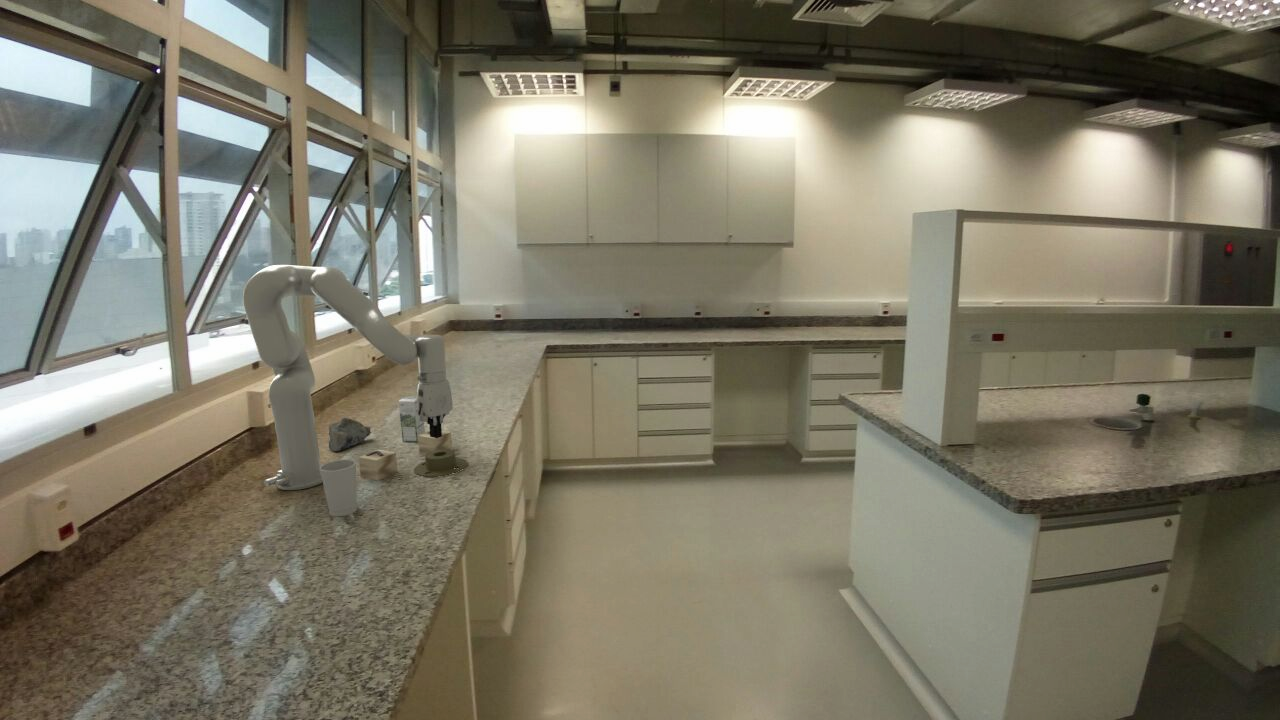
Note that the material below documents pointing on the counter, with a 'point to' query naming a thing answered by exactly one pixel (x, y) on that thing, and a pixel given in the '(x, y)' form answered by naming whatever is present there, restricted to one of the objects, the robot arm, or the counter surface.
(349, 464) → the cup
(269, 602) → the counter surface
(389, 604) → the counter surface
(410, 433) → the syrup box
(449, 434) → the numeral block one
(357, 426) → the mineral rock
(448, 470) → the flange
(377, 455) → the numeral block seven
